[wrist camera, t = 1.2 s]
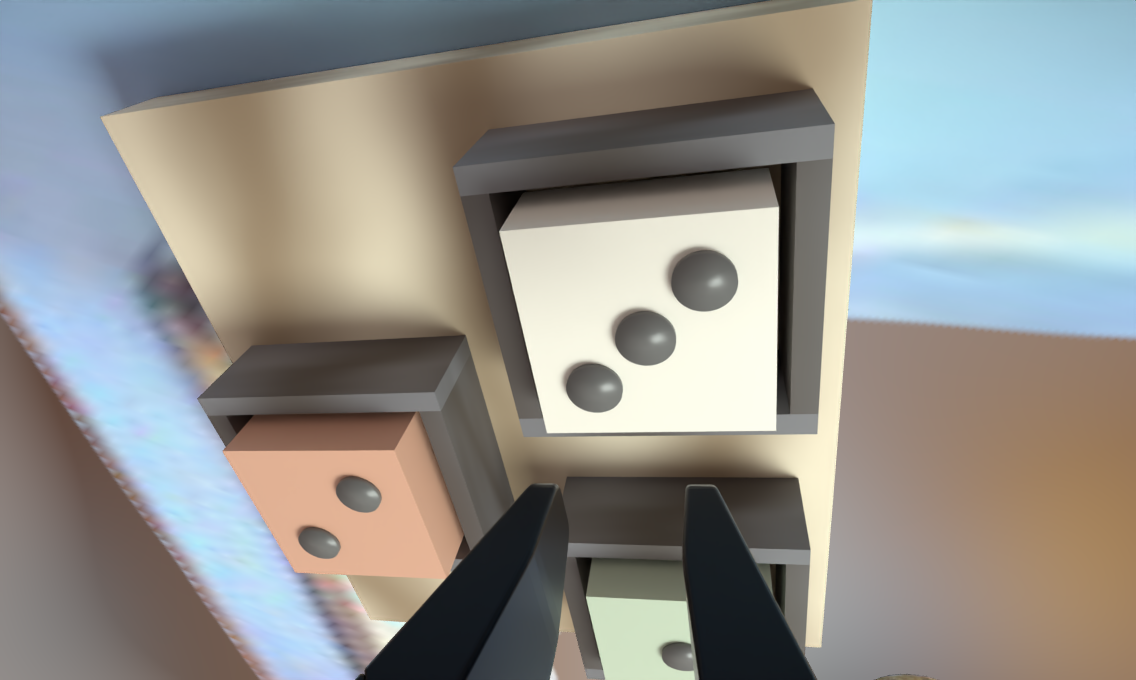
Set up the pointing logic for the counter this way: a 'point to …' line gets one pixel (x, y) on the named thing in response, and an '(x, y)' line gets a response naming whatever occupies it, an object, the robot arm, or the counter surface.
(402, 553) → the terracotta tile
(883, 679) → the sprinkles bottle
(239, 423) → the button board
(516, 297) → the cream tile
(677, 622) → the sage tile
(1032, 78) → the counter surface
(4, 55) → the counter surface
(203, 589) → the counter surface
